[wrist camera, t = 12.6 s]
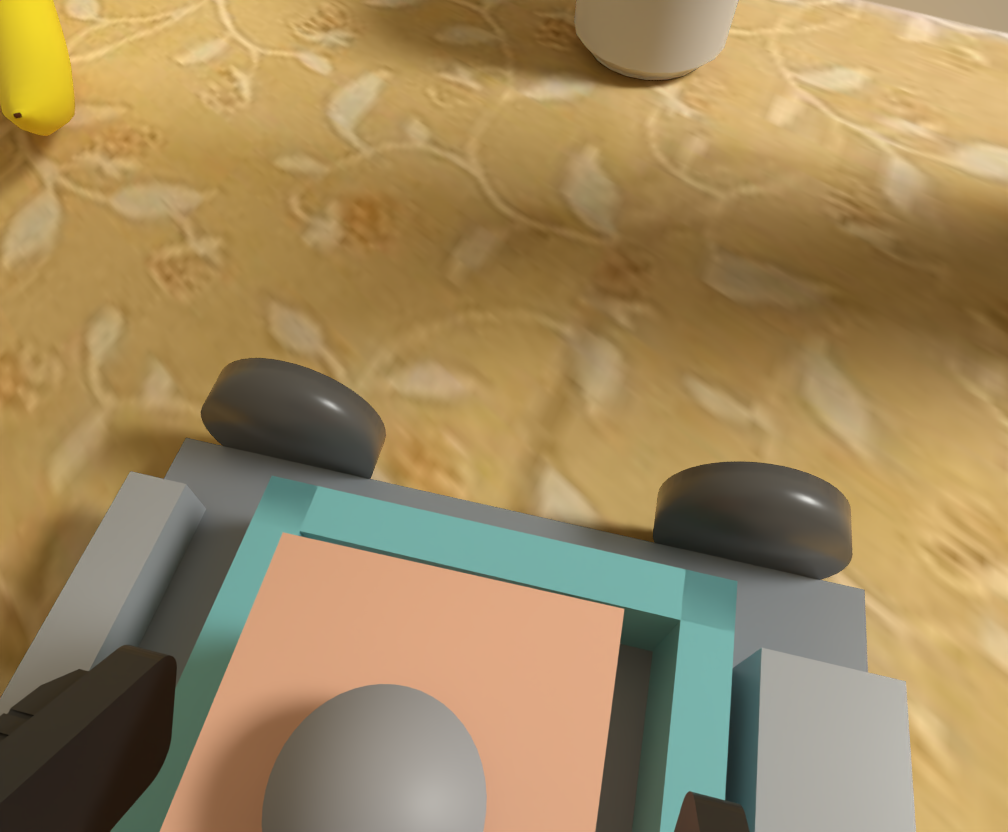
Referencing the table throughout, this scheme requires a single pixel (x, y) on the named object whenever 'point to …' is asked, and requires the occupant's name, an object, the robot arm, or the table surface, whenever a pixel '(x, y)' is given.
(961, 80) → the table surface
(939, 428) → the table surface
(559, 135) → the table surface
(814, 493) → the chassis
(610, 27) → the can
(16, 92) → the banana
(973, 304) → the table surface
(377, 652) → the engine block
